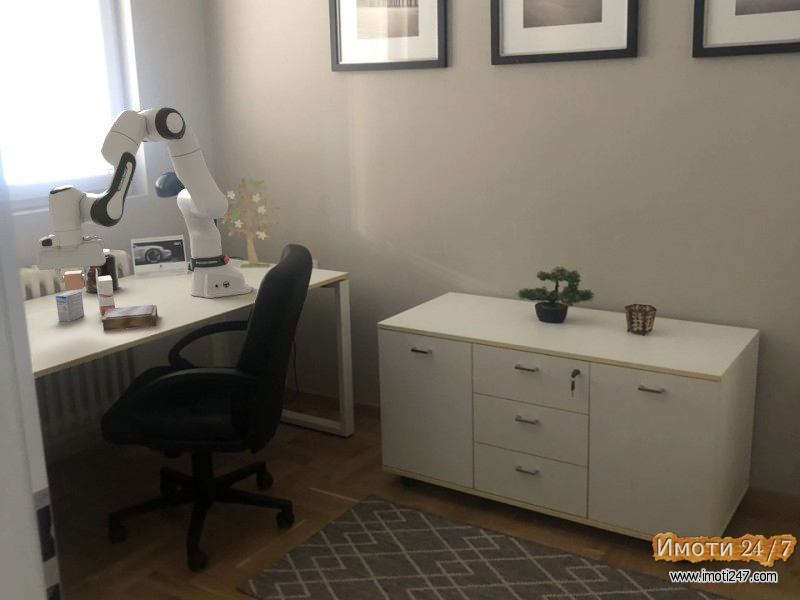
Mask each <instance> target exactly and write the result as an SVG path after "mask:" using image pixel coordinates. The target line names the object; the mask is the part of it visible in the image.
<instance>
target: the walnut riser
mask: <svg viewBox="0 0 800 600" xmlns="http://www.w3.org/2000/svg"><path fill="white" fill-rule="evenodd" d="M101 321H102V329H103V331H104V332H105V331H116V330H126V328H128V329H137V328H139V329H140V328H148V327H149V328H150V327H156V326H157V321H158V306H157V304H146V305H135V306H121V307H115V308H109V309H106V312H105V314H103V316H102V320H101Z"/></svg>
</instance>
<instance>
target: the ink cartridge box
mask: <svg viewBox="0 0 800 600" xmlns="http://www.w3.org/2000/svg"><path fill="white" fill-rule="evenodd" d="M96 283H97V292H98V293H97V299H98V305H99V306H98V307H99V312H100V314H101V315H104V314H105V312H106V309H109V308H116V306H115V297H114V290H113V284H112V278H111V276H101V277H98V272H97V269H96Z"/></svg>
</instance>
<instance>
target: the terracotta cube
mask: <svg viewBox="0 0 800 600" xmlns="http://www.w3.org/2000/svg"><path fill="white" fill-rule="evenodd" d="M83 274H84V271H83V269H82V270H72V271H71V270H70V271H69V270H68V271H65V272H64V274H63V276H64V281H65V282H64V286H65V287H64V288H65V291H78V290H83V289H84V287H85V281H82V275H83Z"/></svg>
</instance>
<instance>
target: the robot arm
mask: <svg viewBox="0 0 800 600" xmlns="http://www.w3.org/2000/svg"><path fill="white" fill-rule="evenodd" d="M161 141H162V142H163V143H164V144H165V145H166V148H167V152H168V155H169V158H170V160H171V164H172V166H173V169H174V173H175V175H176V177H177V179H178V180H179V181H180V183H181V184H182V185H183V186H184V189H181V191H179V192H178V194H177V199H176V204H177V206H178V208H179V210H180V212H181V213H182V217H183V219H184V223H185V225H186V229H187V231H188V236H189V243H190V244H189V245H190V252H191V253H190V254H191V256H190V259H189V260H190V270H191V272H192V273H191V274H192V275H191V286H190V287H191V288H190V291H189V292H190V293H189V294H190V295H191V296H194V297H202V298H205V299H214V298H219V297H220V298H221V297H229V296H236V295H244V294H249V293H251V292H252V290H253V289H252V285H250V284H249V283H246V279H245V276H244V274H243V272H242V271H240V270H238V269H237V268H236V267H234V266H233V265H231V264H229V262H230V257H229V256H228V255H227V254H224V253H223V250H222V238H221V233H220V230H219V229H218V227H217V226H216V223H215V220H217V219H221V218H222V217H224V216H225V215H226V213H227V212H228V209H229V200H228V198H227V196H226V195H225V194H224V193H223V192H222V190H220V188H219V187H218V184H217V183H216V181H215V179H214V178H213V176H212V174H211V173H210V170H209V168H208V167H207V164H206V161H205V157H204V155H203V152H202V149H201V146H200V143H199V140H198V138H197V136H196V134H195V131H194V130H193V128H192V126H191V124H189V122H188V121H185V119H184V117H183V116H182V114H181V113H180V111H178V110H176V109H175V108H172V107H166V106H165V107H153V108H149V109H144V110H140V111H139V110H138V111H136V110H133V109H125V110H122V111H120V113H119V114H118V115H117V116H116V118H114V120H113V121H112V123H111V124H110V126H109V128H108V130H107V131H106V133H105V135H104V137H103V139H102V141H101V144H100V152H101V155H102V157H103V159H104V160H105V161H106V162H107V163H108V164H110V165H111V166H112V167H113V173H112V175H111V177H110V181H109V183H108V185H107V186H108V187H107V189H106V190H105V191H104V192H102V193H99V194H98V193H97V194H96V193H90V192H89V193H88V192H85V191H82V190H80V189H78V188H76V187H75V186H74V185H70V184H66V185H65V184H64V185H59V186H55V187H54V188H52V189H50V191H49V194H48V211H49V218H50V219H51V223H52V224H51V225H52V226H51V233H52V234H48V235H46V236H43V237H41V238H40V239H39V240H38V241H37V245H38V247H39V248H38V249H37V250H36V256H35V257H36V258H35V259H36V268H37V269H38V271H49V270H54V273H55V275H57V276H58V277H59V282H60V283H61V284H62V283H65V281H64V275H63V274H62V273H61V271H62V270H63V269H72V268H83V267H84V268H83V271H84V270H86V272H85V274H84V273H83V275H82V281H84V282H85V281H87V274H88V271H89V269H90V266H100V265H103V264H104V263H105V261H106V260H105V254H104V251H103V249H105V241H104V239H103V238H102V237H99V236H97V235H95V236H84V232H83V226H82V225H83V224H88V225H96V226H102V227H107V228H111V227H115V226H116V225H118V224H119V222H120V221H121V219H122V218H123V214H124V209H125V201H126V199H127V195H128V192H129V189H130V187H131V184H132V182H133V179H134V176H135V175H134V174H135V173H136V167H137V160H136V155H137V153H138V151H139V148H140V146H141V144H142V143H148V142H151V143H155V142H156V143H157V142H161Z"/></svg>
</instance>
